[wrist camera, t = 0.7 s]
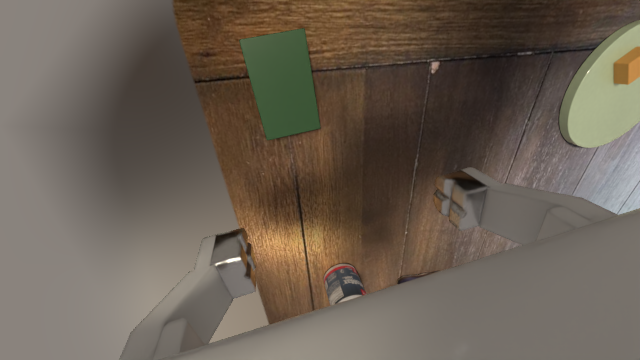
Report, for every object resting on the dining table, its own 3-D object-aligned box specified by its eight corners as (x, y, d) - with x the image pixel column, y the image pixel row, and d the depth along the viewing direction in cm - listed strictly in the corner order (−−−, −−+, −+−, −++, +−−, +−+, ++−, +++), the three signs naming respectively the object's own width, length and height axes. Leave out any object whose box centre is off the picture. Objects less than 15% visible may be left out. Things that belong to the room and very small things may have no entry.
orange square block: (613, 63, 30) (628, 63, 29) (636, 46, 30) (653, 46, 29) (613, 83, 32) (628, 85, 31) (635, 67, 32) (651, 68, 30)
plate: (584, 30, 29) (597, 30, 28) (694, 8, 31) (709, 7, 30) (544, 156, 37) (552, 159, 36) (633, 132, 39) (643, 134, 38)
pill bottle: (362, 268, 39) (387, 321, 32) (342, 289, 41) (362, 346, 33) (336, 258, 37) (357, 313, 30) (316, 281, 39) (331, 340, 31)
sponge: (241, 40, 22) (238, 39, 19) (297, 30, 23) (304, 28, 19) (265, 128, 26) (266, 140, 23) (312, 117, 27) (320, 128, 23)
